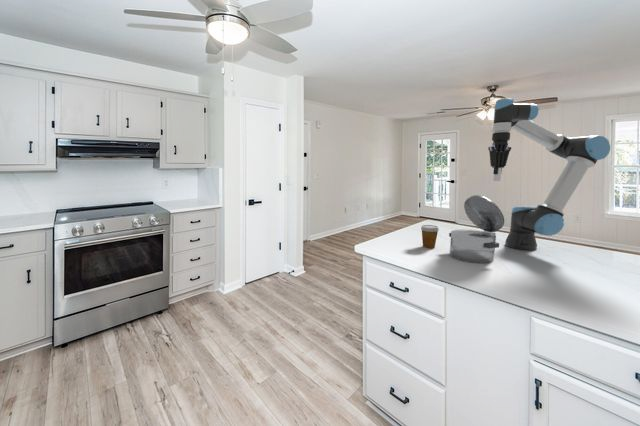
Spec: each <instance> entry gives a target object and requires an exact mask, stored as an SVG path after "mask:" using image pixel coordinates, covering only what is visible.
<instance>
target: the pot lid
mask: <svg viewBox="0 0 640 426" xmlns="http://www.w3.org/2000/svg"><path fill="white" fill-rule="evenodd" d="M463 207H464V211H465V214H466V217H468V219H469V220H470V221H471V222H472V224H473V225H475V226H476V227H478V228H479V229H480V230H481V231H487V232H493V233H496V232H498V231H500V230H501V229H502V228H503V227H504V224H505V217H504V216H505V215H504V214H503V212H502V211H501V209H500V208H499V206H497V204H496V203H495V202H493V201H492V200H491V199H489V198H488V197H485V196H483V195H479V194H478V195H477V194H476V195H471V196H470V197H468V198H466V200H465V201H464V204H463Z"/></svg>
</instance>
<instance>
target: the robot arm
mask: <svg viewBox="0 0 640 426" xmlns="http://www.w3.org/2000/svg"><path fill="white" fill-rule="evenodd" d="M514 101H515V100H514V98H510V97H507V98H499V99H497V100H496V102H495V104H494V109H493V110H494V113H493V114H494V116H493V127H492V132H493V133H492V135H491V141H493V142H492V144H491V146H488V147H487V148H488V149H487V150H488V151H489V162H490V167H491V168H492V169H493V172H492V173H493V179H492V181H493V182H501V175H502V170H503V169H504V168H505V167H506V166H507V162H508V159H509V156H510V155H509V154H510V152H511V150H512V146H509V143H508V141H510V138H511V131H512V130H514V131H516V132H518V133H519V134H521V135H523V136H525V137H527V138H529V139H531V140H532V141H534V142H536V143H538V144H540V145H541V146H543V147H545V150H546V151H547V152H549V153H552V154H554V155H556V156H557V157H559V158H562V159H565V160H566V161H567V164H566V165H565V167H564V168H563V170H562V171H561V173H560V175H559V177H558V179H557V180H556V182H555V183H554V185H553V187H552V188H551V190H550V191H549V192H548V195H547V196H546V198H545V200H544V201H543V203H541V204H538V205H537V206H513V208H512V209H511V213H510V214H511V216H510V217H511V219H510V227H509V228H510V229H509V232H508V235H507V237H506V239H505V242H504V245H505V246H506V247H508V248H511V249H516V250H524V251H533V250H537V249H538V243H537V239H536V238H537V237H536V235H535V234H538V235H541V236H548V237H550V236H555V235H557V234H559V233H560V232H561V231H562V230H563V228H564V226H565V219H564V215H565V214H564V209H565V206H566V205H567V204H568V203H569V200H570V199H571V197H572V195H574V192H575V190H576V189H577V187H578V186H579V184H580V182H581V181H582V180H583V178H584V176H585V174H586V173H587V171H588V170H589V169H590V168H593V167H595V165H596V164H597V162H598V161H599V160H603V159H605V158H607V156H608V155H609V153H610V151H611V144H610V141H609V139H608V138H606V137H605V136H604V135H596V134H595V135H594V134H591V135H587V136H574V137H569V136H565V135H563V134H561V133H560V134H556V133H555V132H553V131H551V130H550V129H548V128H546V127H544V126H542V125H540V124H539V123H536V122H535V121H534V120H535V119H536V118H537V117H538V114H539V110H540V108H539V106H538V104H535V103H516V102H514Z"/></svg>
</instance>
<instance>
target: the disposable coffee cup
mask: <svg viewBox="0 0 640 426" xmlns="http://www.w3.org/2000/svg"><path fill="white" fill-rule="evenodd" d="M420 229H421V237H422V238H421V239H422V240H421V241H422V247H423V249H424V248H425V249H431V250H432V249H435V247H436V243H437V237H438V232H439V230H440V228H439V226H437V225H434V224H433V225H432V224H423V225H421V227H420Z"/></svg>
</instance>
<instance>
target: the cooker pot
mask: <svg viewBox="0 0 640 426" xmlns="http://www.w3.org/2000/svg"><path fill="white" fill-rule="evenodd" d="M496 234H497V233H496V232H487V231H484V230H479V229H463V228H462V229H454V230H451V231H450V232H449V233H448V237H449V238H450V241H449V242H450V244H449V256H450V257H451V258H452V259H455V260H456V261H461V262H466V263H470V264H471V263H472V264H490V263H492V262H494V260H495V252H496V251H495V250H496V248H500V242H497V241H496V240H497V235H496Z"/></svg>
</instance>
